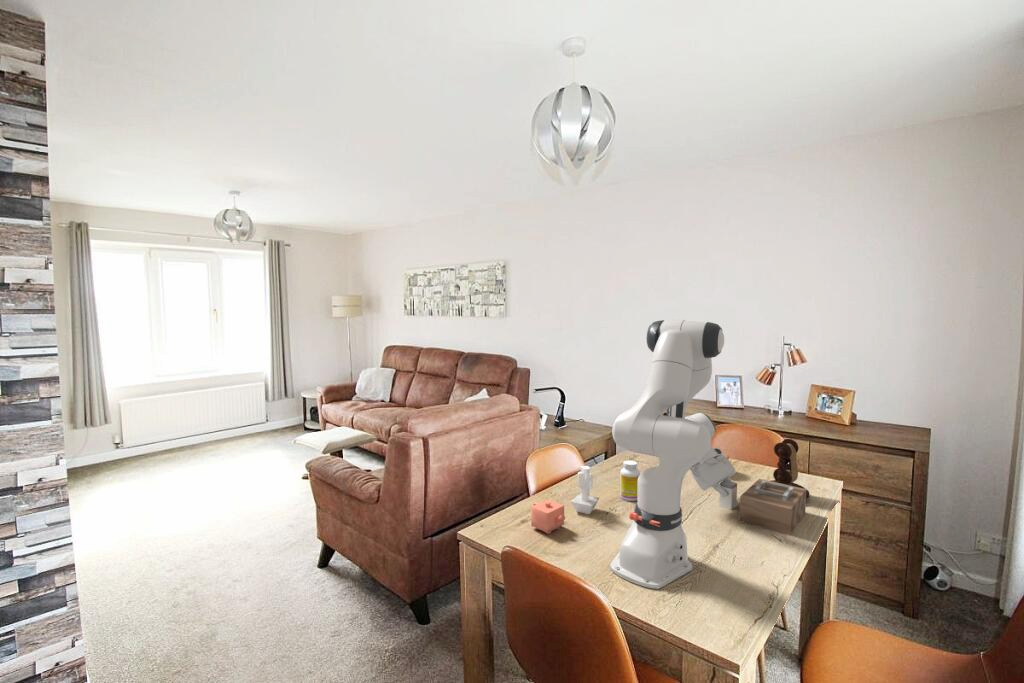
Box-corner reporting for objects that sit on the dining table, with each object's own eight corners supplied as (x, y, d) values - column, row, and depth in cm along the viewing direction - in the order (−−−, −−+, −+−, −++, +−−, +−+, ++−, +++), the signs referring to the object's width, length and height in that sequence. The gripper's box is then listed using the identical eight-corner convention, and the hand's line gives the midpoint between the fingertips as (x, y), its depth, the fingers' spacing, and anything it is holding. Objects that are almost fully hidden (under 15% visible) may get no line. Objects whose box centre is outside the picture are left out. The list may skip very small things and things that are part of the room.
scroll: (800, 508, 156) (803, 449, 154) (754, 495, 167) (756, 440, 165) (815, 496, 165) (817, 441, 164) (770, 484, 176) (772, 432, 175)
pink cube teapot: (556, 540, 137) (555, 513, 136) (526, 526, 145) (526, 501, 144) (572, 531, 142) (572, 504, 141) (543, 518, 151) (542, 493, 150)
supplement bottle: (640, 502, 162) (640, 466, 161) (620, 501, 163) (620, 465, 162) (638, 494, 168) (639, 459, 167) (620, 493, 170) (620, 458, 169)
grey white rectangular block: (731, 509, 155) (731, 486, 155) (719, 505, 158) (719, 482, 158) (736, 506, 158) (737, 483, 157) (724, 502, 161) (725, 479, 160)
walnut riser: (789, 535, 138) (791, 504, 137) (739, 520, 147) (740, 491, 146) (805, 513, 152) (806, 484, 151) (758, 501, 162) (759, 474, 161)
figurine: (600, 507, 158) (600, 464, 157) (590, 518, 150) (590, 472, 149) (580, 502, 162) (580, 460, 161) (569, 513, 154) (569, 469, 152)
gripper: (694, 460, 155) (722, 498, 149) (722, 447, 169) (749, 481, 162) (681, 470, 159) (708, 507, 152) (710, 456, 172) (736, 490, 166)
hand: (730, 493), depth 157 cm, fingers closed on grey white rectangular block, 4 cm apart
